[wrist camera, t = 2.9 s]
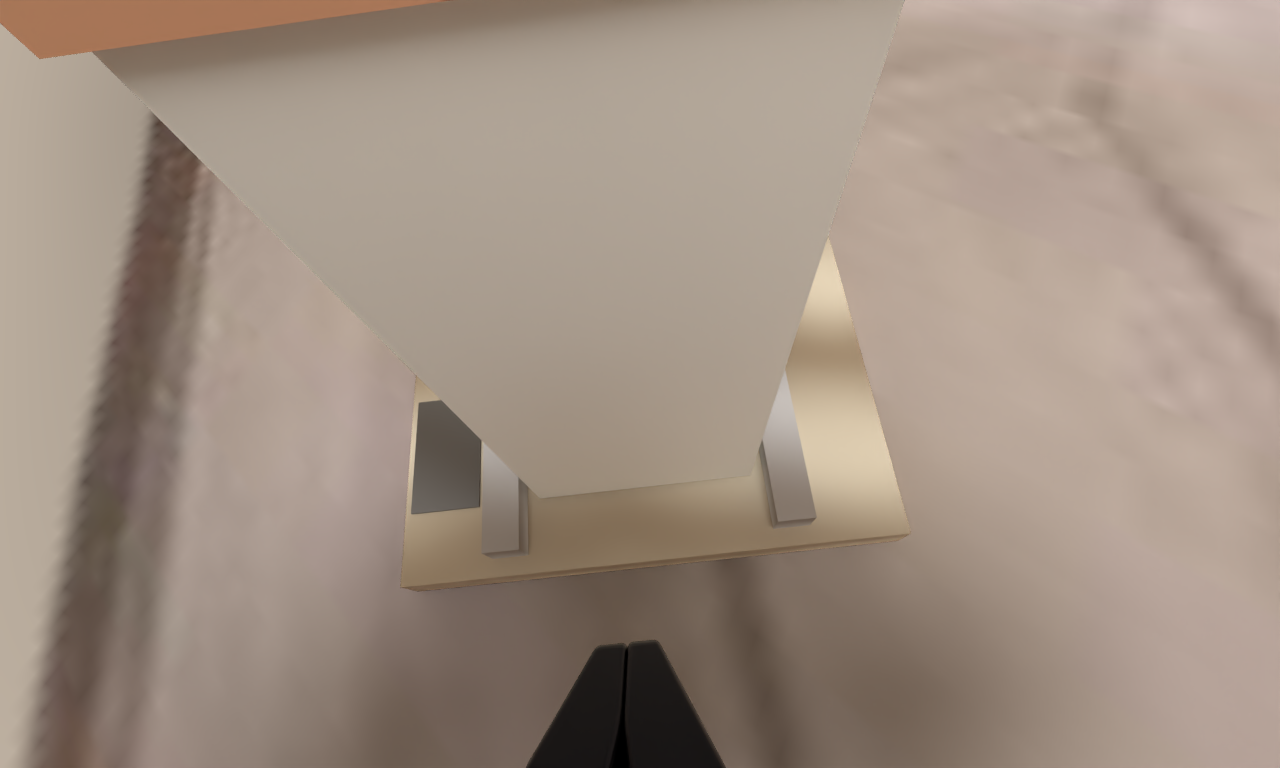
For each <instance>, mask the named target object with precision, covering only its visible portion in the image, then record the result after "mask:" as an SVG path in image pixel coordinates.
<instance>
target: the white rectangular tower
mask: <svg viewBox="0 0 1280 768" xmlns="http://www.w3.org/2000/svg"><path fill="white" fill-rule="evenodd" d="M904 1H905V0H0V23H1V24H2V25H3V26H4V27H5V28H6V29H7V30H8V31H9V32H11V33H12V34H13V35H14V36H15V37H16V38H17V39H18V40H19V41H20V42H21V43H23V44H24V45H25V46H26V47H27V48H28V49H29V50H30V51H32V52H33V53H34V54H35V55H36V56H37V57H38V58H39V59H43V58H50V57H57V56H64V55H71V54H78V53H85V52H93V53H94V54H95V55H96V56H97V57H98V58H99V59H100V60H101V61H102V62H103V63H104V64H105V65H106V66H107V67H108V68H109V69H110V70H111V71H112V72H113V73H114V74H115V75H116V76H117V77H118V78H119V79H120V80H121V81H122V82H123V83H124V84H125V85H126V86H127V87H128V88H129V89H130V90H131V91H132V92H133V93H134V94H135V95H136V96H137V97H138V98H139V99H140V100H141V101H142V102H143V103H144V104H145V105H146V106H147V107H148V108H149V109H150V110H151V111H152V112H153V113H154V114H155V115H156V116H157V117H158V118H159V119H160V120H161V121H162V122H163V123H164V124H165V125H166V126H167V127H168V128H169V129H170V130H171V131H172V132H173V133H174V134H175V135H176V136H177V137H178V138H179V139H180V140H181V141H182V142H183V143H184V144H185V145H186V146H187V147H188V148H189V149H190V150H191V151H192V152H193V153H194V154H195V155H196V156H197V157H198V158H199V159H200V160H201V161H202V162H203V163H204V164H205V165H206V166H207V167H208V168H209V169H210V170H211V171H212V172H213V173H214V174H215V175H216V176H217V177H218V178H219V179H220V180H221V181H222V182H223V183H224V184H225V185H226V186H227V187H228V188H229V189H230V190H231V191H232V192H233V193H234V194H235V195H236V196H237V197H238V198H239V199H240V200H241V201H242V202H243V203H244V204H245V205H246V206H247V207H248V208H249V209H250V210H251V211H252V212H253V213H254V214H255V215H256V216H257V217H258V218H259V219H260V220H261V221H262V222H263V223H264V224H265V225H266V226H267V227H268V228H269V229H270V230H271V231H272V232H273V233H274V234H275V235H276V236H277V237H278V238H279V239H280V240H281V241H282V242H283V243H284V244H285V245H286V246H287V247H288V248H289V249H290V250H291V251H292V252H293V253H294V254H295V255H296V256H297V257H298V258H299V259H300V260H301V261H302V262H303V263H304V264H305V265H306V266H307V267H308V268H309V269H310V270H311V271H312V272H313V273H314V274H315V275H316V276H317V277H318V278H319V279H320V280H321V281H322V282H323V283H324V284H325V285H326V286H327V287H328V288H329V289H330V290H331V291H332V292H333V293H334V294H335V295H336V296H337V297H338V298H339V299H340V300H341V301H342V302H343V303H344V304H345V305H346V306H347V307H348V308H349V309H350V310H351V311H352V312H353V313H354V314H355V315H356V316H357V317H358V318H359V319H360V320H361V321H362V322H363V323H364V324H365V325H366V326H367V327H368V328H369V329H370V330H371V331H372V332H373V333H374V334H375V335H376V336H377V337H378V338H379V339H380V340H381V341H382V342H383V343H384V344H385V345H386V346H387V347H388V348H389V349H390V350H391V351H392V352H393V353H394V354H395V355H396V356H397V357H398V358H399V359H400V360H401V361H402V362H403V363H404V364H406V365H407V366H408V367H409V368H410V369H411V370H412V371H413V372H414V373H415V374H416V375H417V376H418V377H419V378H420V379H421V380H422V381H423V382H424V383H425V384H426V385H427V386H428V387H429V388H430V389H431V390H432V391H433V392H434V393H435V394H436V395H437V396H438V397H439V398H440V399H441V400H442V401H443V402H444V403H445V404H446V405H447V406H448V407H449V408H450V409H451V410H452V411H453V412H454V413H455V414H456V415H457V416H458V417H459V418H460V419H461V420H462V421H463V422H464V423H465V424H466V425H467V426H468V427H469V428H470V429H471V430H472V431H473V432H474V433H475V434H476V435H477V436H478V437H479V438H480V439H481V440H482V441H483V442H484V443H485V444H486V445H487V446H488V447H489V448H490V449H491V450H492V451H493V452H494V453H495V454H496V455H497V456H498V457H499V458H500V459H501V460H502V461H503V462H504V463H505V464H506V465H507V466H508V467H509V468H510V469H511V470H512V471H513V472H514V473H515V474H516V475H517V476H518V477H519V478H520V479H521V480H522V481H523V482H524V483H525V484H526V485H527V486H528V487H529V488H530V489H531V490H532V491H533V492H534V493H535V494H536V495H537V496H538V497H539V498H540V499H541V498H550V497H559V496H568V495H577V494H586V493H595V492H604V491H613V490H622V489H631V488H640V487H649V486H658V485H667V484H676V483H685V482H694V481H703V480H713V479H722V478H731V477H740V476H749V475H751V472H752V469H753V466H754V462H755V459H756V456H757V453H758V450H759V447H760V444H761V441H762V438H763V435H764V432H765V429H766V426H767V422H768V419H769V416H770V413H771V410H772V407H773V404H774V401H775V398H776V395H777V392H778V389H779V386H780V382H781V379H782V376H783V373H784V370H785V367H786V364H787V361H788V358H789V355H790V352H791V349H792V346H793V342H794V339H795V336H796V333H797V330H798V327H799V324H800V321H801V318H802V315H803V312H804V309H805V306H806V302H807V299H808V296H809V293H810V290H811V287H812V284H813V281H814V278H815V275H816V272H817V269H818V266H819V262H820V259H821V256H822V253H823V250H824V247H825V244H826V241H827V238H828V235H829V232H830V229H831V226H832V222H833V219H834V216H835V213H836V210H837V207H838V204H839V201H840V198H841V195H842V192H843V189H844V186H845V183H846V179H847V176H848V173H849V170H850V167H851V164H852V161H853V158H854V155H855V152H856V149H857V146H858V143H859V139H860V136H861V133H862V130H863V127H864V124H865V121H866V118H867V115H868V112H869V109H870V106H871V103H872V99H873V96H874V93H875V90H876V87H877V84H878V81H879V78H880V75H881V72H882V69H883V66H884V63H885V59H886V56H887V53H888V50H889V47H890V44H891V41H892V38H893V35H894V32H895V29H896V26H897V23H898V19H899V16H900V13H901V10H902V7H903V4H904Z"/></svg>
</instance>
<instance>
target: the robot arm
mask: <svg viewBox="0 0 1280 768" xmlns="http://www.w3.org/2000/svg"><path fill="white" fill-rule="evenodd" d="M526 768H726V767H725V765H724V763H723V761H722V759H721V757H720V756H719V754H718V752H717V750H716V748H715V746H714V744H713V742H712V741H711V739H710V737H709V735H708V733H707V731H706V729H705V727H704V725H703V724H702V722H701V720H700V718H699V716H698V714H697V712H696V710H695V709H694V707H693V705H692V703H691V701H690V699H689V697H688V695H687V693H686V692H685V690H684V688H683V686H682V684H681V682H680V680H679V678H678V677H677V675H676V673H675V671H674V669H673V667H672V665H671V663H670V661H669V660H668V658H667V656H666V654H665V652H664V650H663V648H662V646H661V645H660V643H659V642H658V641H656V640H648V641H638V642H631V643H630V644H629V646H628V647H627V646H626V645H625V644H624V643H618V644H609V645H600V646H598V647H597V648H596V649H595V650H594V651H593V653H592V655H591V656H590V658H589V660H588V662H587V663H586V665H585V667H584V668H583V670H582V672H581V674H580V675H579V677H578V679H577V680H576V682H575V684H574V686H573V687H572V689H571V691H570V692H569V694H568V696H567V698H566V699H565V701H564V703H563V704H562V706H561V708H560V710H559V711H558V713H557V715H556V716H555V718H554V720H553V722H552V723H551V725H550V727H549V728H548V730H547V732H546V733H545V735H544V737H543V739H542V740H541V742H540V744H539V745H538V747H537V749H536V751H535V752H534V754H533V756H532V757H531V759H530V761H529V763H528V764H527V766H526Z"/></svg>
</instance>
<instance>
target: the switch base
mask: <svg viewBox="0 0 1280 768" xmlns="http://www.w3.org/2000/svg"><path fill="white" fill-rule="evenodd" d="M909 534H911V531H910V527H909V524H908V520H907V516H906V513H905V509H904V506H903V502H902V498H901V495H900V491H899V488H898V484H897V480H896V477H895V473H894V470H893V466H892V462H891V459H890V455H889V452H888V448H887V444H886V441H885V437H884V434H883V430H882V426H881V423H880V419H879V416H878V412H877V408H876V405H875V401H874V398H873V394H872V390H871V387H870V383H869V380H868V376H867V372H866V369H865V365H864V362H863V358H862V354H861V351H860V347H859V344H858V340H857V336H856V333H855V329H854V326H853V322H852V318H851V315H850V311H849V308H848V304H847V300H846V297H845V293H844V290H843V286H842V282H841V279H840V275H839V272H838V268H837V264H836V261H835V257H834V254H833V250H832V246H831V243H830V239H829V236H828V238H827V241H826V244H825V247H824V250H823V253H822V256H821V259H820V262H819V266H818V269H817V272H816V275H815V278H814V281H813V284H812V287H811V290H810V293H809V296H808V299H807V302H806V306H805V309H804V312H803V315H802V318H801V321H800V324H799V327H798V330H797V333H796V336H795V339H794V342H793V346H792V349H791V352H790V355H789V358H788V361H787V364H786V367H785V370H784V373H783V376H782V379H781V382H780V386H779V389H778V392H777V395H776V398H775V401H774V404H773V407H772V410H771V413H770V416H769V419H768V422H767V426H766V429H765V432H764V435H763V438H762V441H761V444H760V447H759V450H758V453H757V456H756V459H755V462H754V466H753V469H752V472H751V475H749V476H740V477H731V478H722V479H713V480H703V481H694V482H685V483H676V484H667V485H658V486H649V487H640V488H631V489H622V490H613V491H604V492H595V493H586V494H577V495H568V496H559V497H550V498H541V499H540V498H539V497H538V496H537V495H536V494H535V493H534V492H533V491H532V490H531V489H530V488H529V487H528V486H527V485H526V484H525V483H524V482H523V481H522V480H521V479H520V478H519V477H518V476H517V475H516V474H515V473H514V472H513V471H512V470H511V469H510V468H509V467H508V466H507V465H506V464H505V463H504V462H503V461H502V460H501V459H500V458H499V457H498V456H497V455H496V454H495V453H494V452H493V451H492V450H491V449H490V448H489V447H488V446H487V445H486V444H485V443H484V442H483V441H482V440H481V439H480V438H479V437H478V436H477V435H476V434H475V433H474V432H473V431H472V430H471V429H470V428H469V427H468V426H467V425H466V424H465V423H464V422H463V421H462V420H461V419H460V418H459V417H458V416H457V415H456V414H455V413H454V412H453V411H452V410H451V409H450V408H449V407H448V406H447V405H446V404H445V403H444V402H443V401H442V400H441V399H440V398H439V397H438V396H437V395H436V394H435V393H434V392H433V391H432V390H431V389H430V388H429V387H428V386H427V385H426V384H425V383H424V382H423V381H422V380H421V379H420V378H419V377H418V376H417V375H416V381H415V395H414V408H413V422H412V435H411V449H410V463H409V476H408V490H407V503H406V517H405V530H404V544H403V558H402V571H401V585H400V587H401V588H405V589H410V590H414V591H427V590H437V589H446V588H456V587H465V586H475V585H484V584H494V583H503V582H512V581H522V580H531V579H541V578H550V577H560V576H569V575H579V574H588V573H598V572H607V571H617V570H626V569H636V568H645V567H655V566H664V565H674V564H683V563H692V562H702V561H711V560H721V559H730V558H740V557H749V556H759V555H768V554H778V553H787V552H797V551H806V550H816V549H825V548H835V547H844V546H854V545H863V544H872V543H882V542H891V541H898V540H900V539H902V538H903V537H905V536H907V535H909Z"/></svg>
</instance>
